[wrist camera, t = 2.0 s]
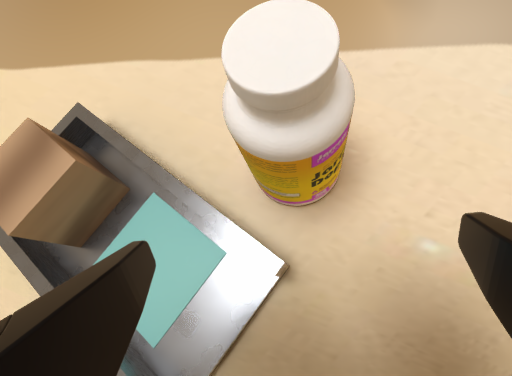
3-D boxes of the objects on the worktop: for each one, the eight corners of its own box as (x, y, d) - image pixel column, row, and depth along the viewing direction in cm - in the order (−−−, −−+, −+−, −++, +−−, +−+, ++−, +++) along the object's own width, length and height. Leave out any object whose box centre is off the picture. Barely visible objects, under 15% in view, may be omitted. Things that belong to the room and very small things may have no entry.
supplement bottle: (317, 222, 22) (319, 145, 10) (241, 186, 24) (166, 86, 12) (354, 147, 23) (395, -3, 11) (279, 118, 25) (245, -34, 13)
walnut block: (130, 189, 25) (75, 160, 19) (80, 247, 24) (8, 235, 18) (88, 152, 27) (27, 117, 21) (41, 205, 26) (-35, 183, 20)
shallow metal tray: (289, 266, 21) (284, 262, 18) (182, 414, 20) (155, 440, 16) (104, 123, 29) (77, 102, 25) (15, 222, 27) (-26, 213, 24)
